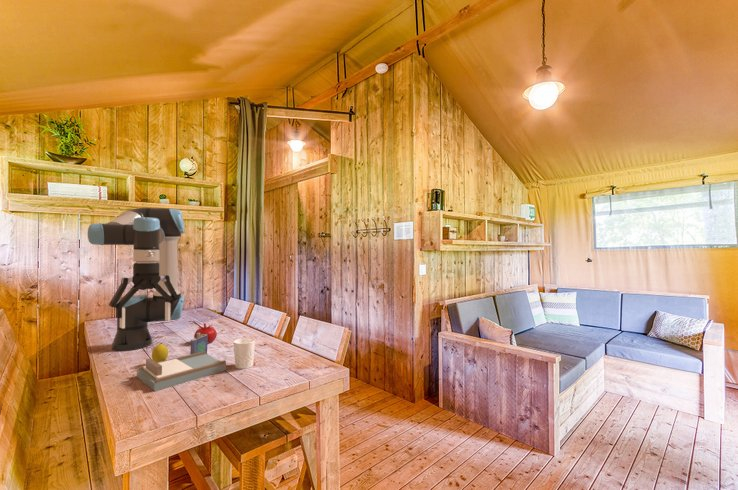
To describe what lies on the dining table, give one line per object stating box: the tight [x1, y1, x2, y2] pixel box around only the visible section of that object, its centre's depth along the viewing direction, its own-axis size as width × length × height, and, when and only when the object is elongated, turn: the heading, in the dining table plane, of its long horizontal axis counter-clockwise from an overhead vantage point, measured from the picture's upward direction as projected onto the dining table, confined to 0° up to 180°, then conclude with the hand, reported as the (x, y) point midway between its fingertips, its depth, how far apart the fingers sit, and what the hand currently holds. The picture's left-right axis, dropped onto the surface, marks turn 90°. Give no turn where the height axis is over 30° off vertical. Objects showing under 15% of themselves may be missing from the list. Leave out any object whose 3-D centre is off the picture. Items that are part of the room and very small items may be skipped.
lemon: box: [151, 343, 169, 362], centre depth 133 cm, size 6×6×8 cm
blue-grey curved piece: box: [190, 333, 208, 355], centre depth 140 cm, size 9×3×11 cm, turn 170°
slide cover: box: [143, 357, 193, 379], centre depth 120 cm, size 15×11×4 cm
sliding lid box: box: [136, 351, 227, 392], centre depth 123 cm, size 18×24×4 cm
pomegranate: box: [193, 323, 218, 344], centre depth 162 cm, size 10×10×9 cm
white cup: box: [233, 337, 256, 370], centre depth 132 cm, size 8×8×10 cm
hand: (146, 324), depth 114 cm, fingers open, 13 cm apart
